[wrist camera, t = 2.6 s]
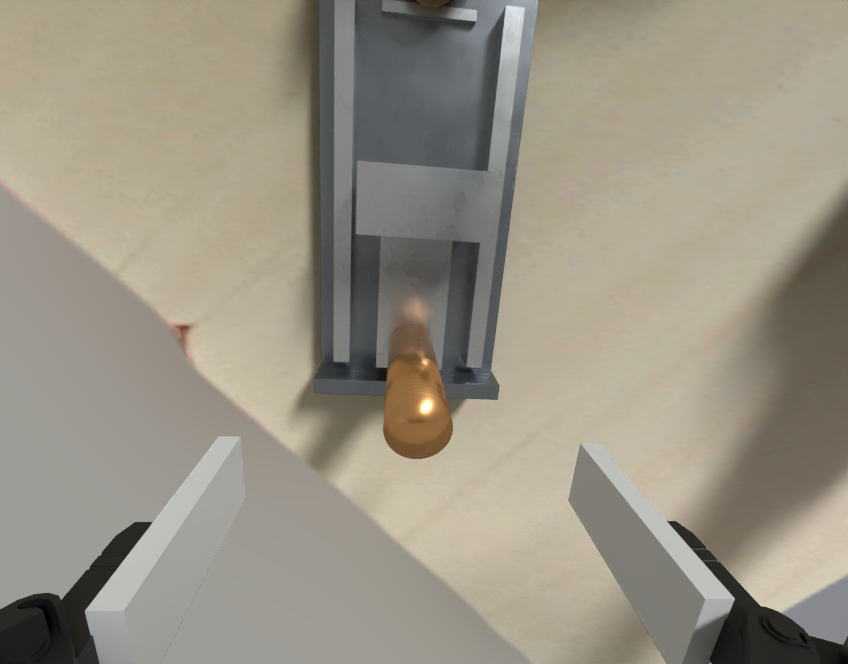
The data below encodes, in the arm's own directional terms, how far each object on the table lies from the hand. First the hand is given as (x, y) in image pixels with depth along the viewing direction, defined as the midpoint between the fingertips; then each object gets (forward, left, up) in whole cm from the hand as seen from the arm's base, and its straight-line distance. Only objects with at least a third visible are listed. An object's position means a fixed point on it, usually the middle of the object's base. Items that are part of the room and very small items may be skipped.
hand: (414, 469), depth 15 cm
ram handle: (-4, -3, -17) cm, 18 cm away
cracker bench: (-11, -9, -19) cm, 24 cm away
